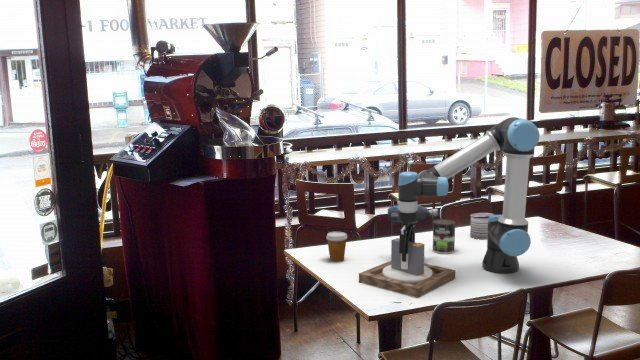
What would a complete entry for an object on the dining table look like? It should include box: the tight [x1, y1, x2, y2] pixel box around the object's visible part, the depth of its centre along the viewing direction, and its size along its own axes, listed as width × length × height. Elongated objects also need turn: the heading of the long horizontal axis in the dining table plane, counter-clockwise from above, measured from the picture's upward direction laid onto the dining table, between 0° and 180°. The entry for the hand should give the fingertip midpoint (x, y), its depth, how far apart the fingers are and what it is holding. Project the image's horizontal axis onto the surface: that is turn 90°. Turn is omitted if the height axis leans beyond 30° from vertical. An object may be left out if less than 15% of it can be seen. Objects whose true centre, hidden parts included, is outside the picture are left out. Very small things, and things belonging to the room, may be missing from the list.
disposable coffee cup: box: [326, 231, 348, 263], centre depth 284 cm, size 10×10×12 cm
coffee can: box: [432, 218, 456, 255], centre depth 295 cm, size 10×10×14 cm
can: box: [469, 212, 495, 241], centre depth 318 cm, size 11×11×12 cm
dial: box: [383, 237, 432, 284], centre depth 255 cm, size 20×20×14 cm
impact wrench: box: [387, 204, 440, 229], centre depth 282 cm, size 8×23×25 cm, turn 78°
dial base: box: [358, 260, 457, 298], centre depth 256 cm, size 28×28×4 cm
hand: (407, 266), depth 255 cm, fingers closed on dial, 6 cm apart
